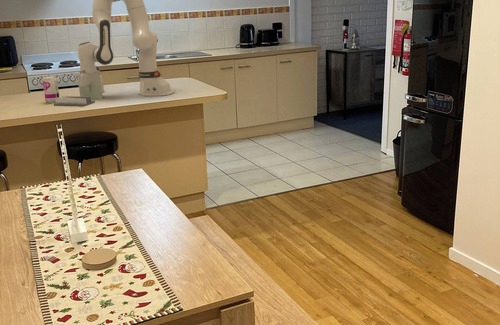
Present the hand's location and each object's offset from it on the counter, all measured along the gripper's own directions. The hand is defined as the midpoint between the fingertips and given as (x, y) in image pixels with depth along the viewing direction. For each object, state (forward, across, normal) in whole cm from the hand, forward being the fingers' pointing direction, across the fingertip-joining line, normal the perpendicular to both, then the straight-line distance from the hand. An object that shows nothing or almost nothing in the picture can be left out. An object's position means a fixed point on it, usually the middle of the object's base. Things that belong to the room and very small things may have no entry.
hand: (90, 91), depth 333 cm
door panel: (+4, 0, 0) cm, 4 cm away
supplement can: (+4, -14, +18) cm, 23 cm away
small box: (+4, +19, +8) cm, 21 cm away
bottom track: (+4, -18, 0) cm, 18 cm away
